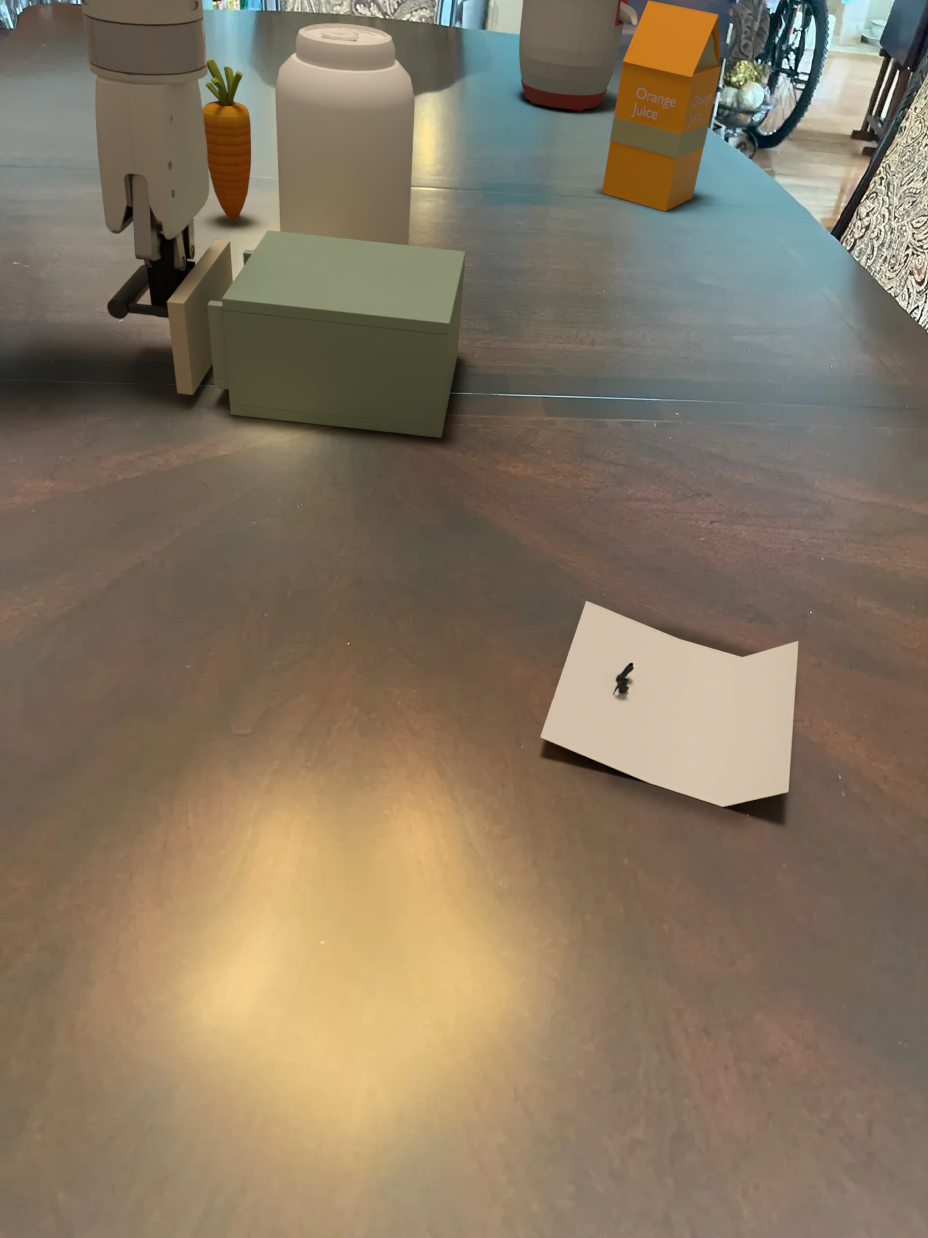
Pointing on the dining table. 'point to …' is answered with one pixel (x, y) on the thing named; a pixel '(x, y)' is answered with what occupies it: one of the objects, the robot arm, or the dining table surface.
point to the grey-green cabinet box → (344, 333)
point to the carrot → (228, 142)
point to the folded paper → (676, 710)
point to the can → (345, 136)
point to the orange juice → (663, 107)
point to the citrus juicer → (570, 49)
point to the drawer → (190, 315)
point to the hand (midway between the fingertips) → (176, 313)
